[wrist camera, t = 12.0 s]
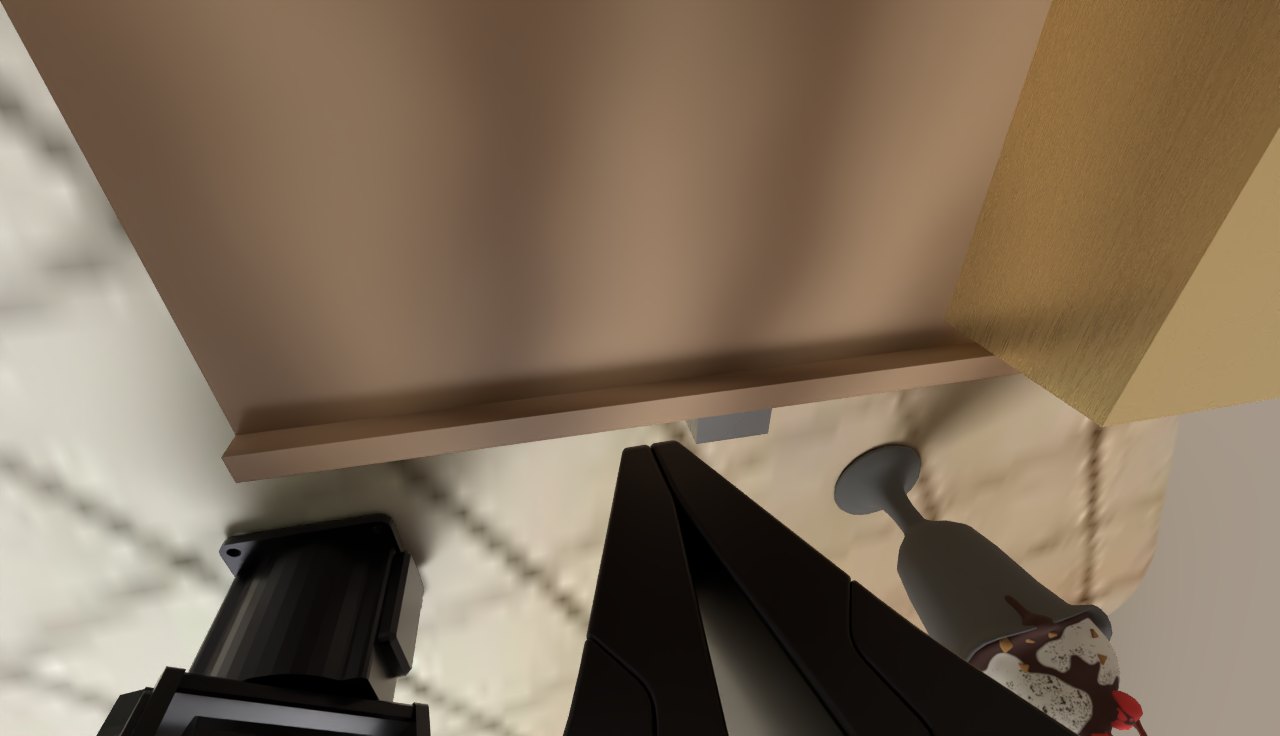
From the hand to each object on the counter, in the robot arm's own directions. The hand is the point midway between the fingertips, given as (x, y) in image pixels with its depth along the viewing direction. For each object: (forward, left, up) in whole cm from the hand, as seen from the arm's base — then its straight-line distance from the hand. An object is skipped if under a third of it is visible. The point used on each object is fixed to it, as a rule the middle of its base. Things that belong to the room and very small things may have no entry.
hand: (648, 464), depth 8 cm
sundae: (+15, -15, -12) cm, 24 cm away
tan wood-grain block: (+13, +4, -6) cm, 15 cm away
